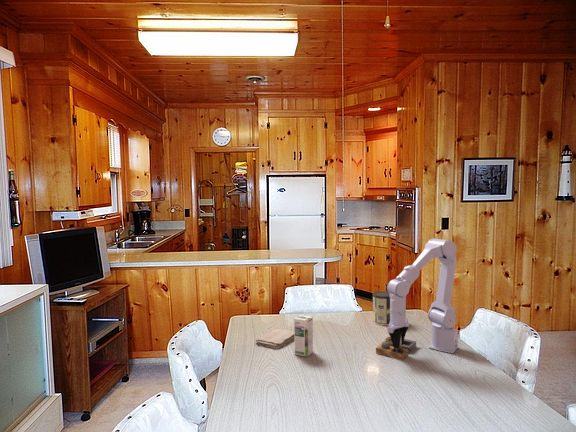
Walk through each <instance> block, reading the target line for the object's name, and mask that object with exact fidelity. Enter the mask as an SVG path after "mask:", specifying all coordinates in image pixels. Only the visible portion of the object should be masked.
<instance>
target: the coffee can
mask: <svg viewBox="0 0 576 432" xmlns="http://www.w3.org/2000/svg"><path fill="white" fill-rule="evenodd" d="M372 318H373V319H372V323H373V324H375V325H378V326H382V327H383V326H384V327H386V326H387V327H388V326H389V323H390V297H389V292H388V291H375V292H373V293H372Z"/></svg>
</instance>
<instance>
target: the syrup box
mask: <svg viewBox="0 0 576 432" xmlns="http://www.w3.org/2000/svg"><path fill="white" fill-rule="evenodd" d="M313 318H314V317H313V316H308V315H301V314H299V315H298V316H296V317H295V318H294V319H293V326H294V327H293V328H294V329H293V331H294V355H295V356H302V357H305V358H308V357H310V356H311V354H312V353H313V352H314V345H313V344H314V342H313V341H314V339H313V337H314V334H313V333H314V329H313V328H314V327H313V326H314V325H313V324H314V322H313V321H314V320H313Z"/></svg>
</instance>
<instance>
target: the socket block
mask: <svg viewBox="0 0 576 432" xmlns="http://www.w3.org/2000/svg"><path fill="white" fill-rule="evenodd" d="M389 343H390V346H393V344H392V341H389ZM416 347H417V341H416V340H410V339H406V338H404V342H403V345H402V349H405V350H408V354H410V353H411V352H413V350H414V349H416Z"/></svg>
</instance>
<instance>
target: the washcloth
mask: <svg viewBox="0 0 576 432" xmlns="http://www.w3.org/2000/svg"><path fill="white" fill-rule="evenodd" d="M292 341H295V339H294V330H287V329H282V328H276V329H273V330H272V331H269V332H267V333H265V334H264V335H262V336H260V337H258V338H257V339H255V342H256V343H255V345H258V346H260V345H261V347H264V346H265V347H266V348H270V349H274V350H275V349H276V350H277V349H281V348H282V347H284V346H285V345H287V344H289V343H290V342H292Z"/></svg>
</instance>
